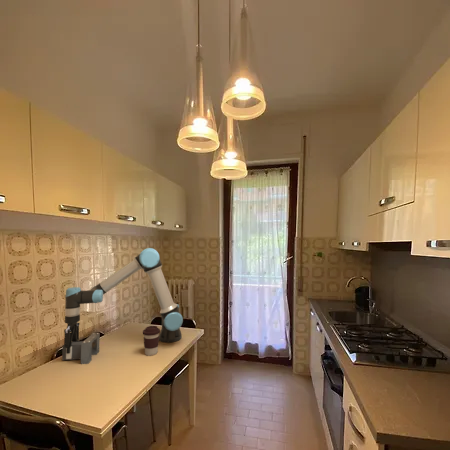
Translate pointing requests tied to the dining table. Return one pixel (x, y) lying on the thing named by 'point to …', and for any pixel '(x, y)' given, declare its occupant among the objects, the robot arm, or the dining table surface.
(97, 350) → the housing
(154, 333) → the coffee cup
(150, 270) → the robot arm
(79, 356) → the plug
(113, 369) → the dining table surface
